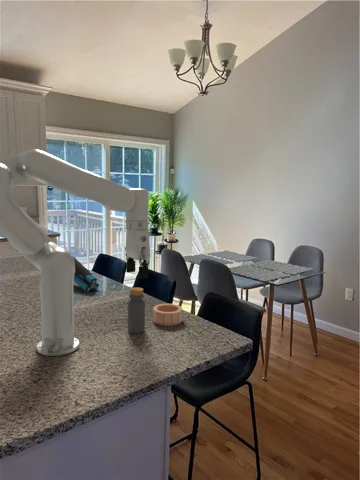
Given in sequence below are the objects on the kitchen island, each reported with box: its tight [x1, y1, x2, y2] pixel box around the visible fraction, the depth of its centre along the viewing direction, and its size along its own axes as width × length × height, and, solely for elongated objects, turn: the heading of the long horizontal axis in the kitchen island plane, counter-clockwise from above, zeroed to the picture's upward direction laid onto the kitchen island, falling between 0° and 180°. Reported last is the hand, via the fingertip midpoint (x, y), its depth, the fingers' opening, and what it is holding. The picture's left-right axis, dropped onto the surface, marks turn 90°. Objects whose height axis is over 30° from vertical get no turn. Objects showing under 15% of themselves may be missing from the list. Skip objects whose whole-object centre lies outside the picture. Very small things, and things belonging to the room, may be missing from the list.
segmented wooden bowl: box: [152, 303, 183, 327], centre depth 140 cm, size 11×11×5 cm
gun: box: [73, 256, 100, 293], centre depth 183 cm, size 8×26×15 cm, turn 46°
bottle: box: [127, 287, 146, 335], centre depth 129 cm, size 6×6×15 cm
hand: (137, 274), depth 127 cm, fingers open, 9 cm apart
